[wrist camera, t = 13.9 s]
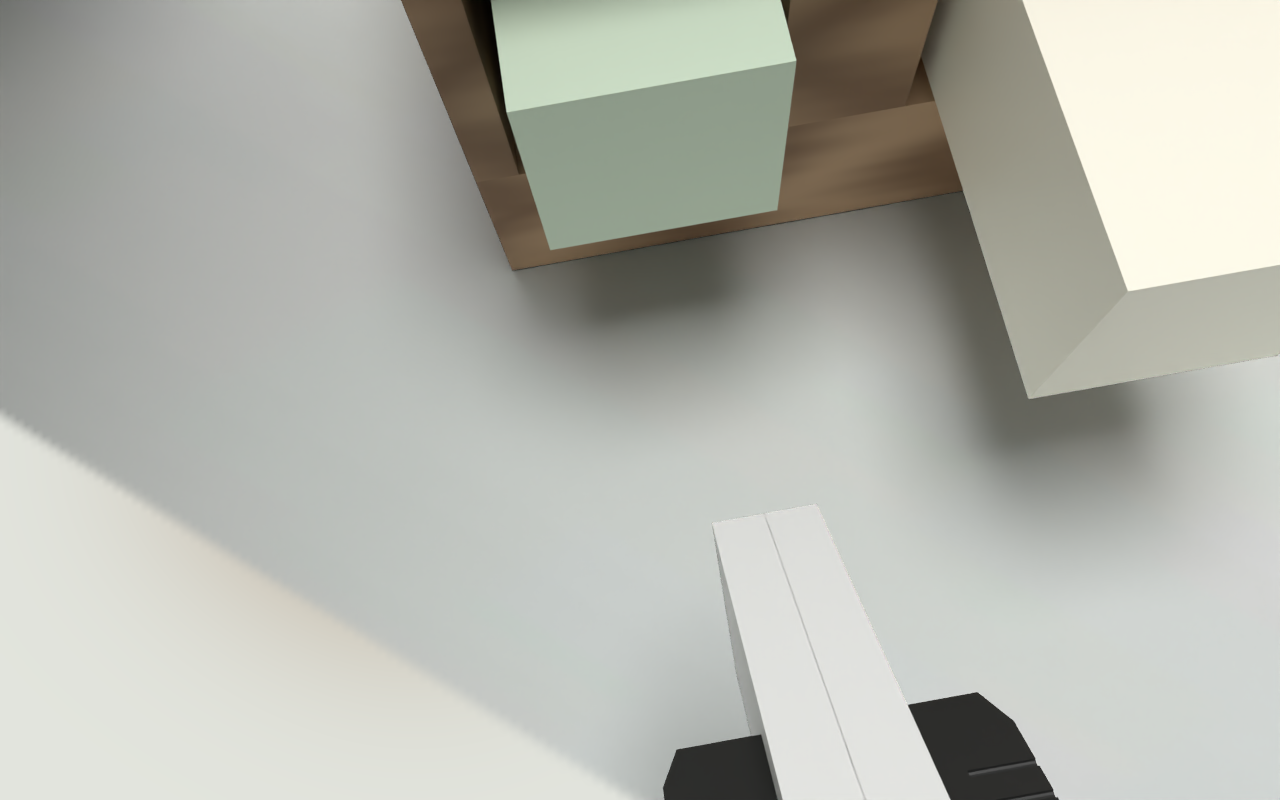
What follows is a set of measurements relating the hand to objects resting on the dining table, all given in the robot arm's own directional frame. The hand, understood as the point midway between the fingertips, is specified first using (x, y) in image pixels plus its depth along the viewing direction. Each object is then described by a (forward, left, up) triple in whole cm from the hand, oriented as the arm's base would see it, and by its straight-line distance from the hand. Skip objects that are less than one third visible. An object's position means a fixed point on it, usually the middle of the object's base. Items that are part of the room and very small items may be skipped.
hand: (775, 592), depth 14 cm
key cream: (+9, +8, -5) cm, 13 cm away
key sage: (0, +13, -5) cm, 14 cm away
